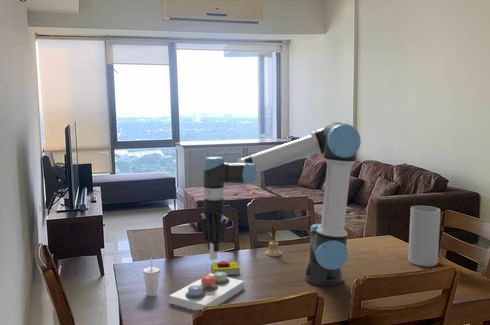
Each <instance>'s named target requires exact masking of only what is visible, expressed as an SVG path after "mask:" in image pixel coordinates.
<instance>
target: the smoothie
mask: <svg viewBox="0 0 490 325" xmlns="http://www.w3.org/2000/svg"><path fill="white" fill-rule="evenodd" d="M160 273H161V269H160V268H159V267H157V266H153V258H152V257H150V266H149V267H145V268H144V269H142V274H143V278H144V284H145V290H146V296H148V297H155V296H157V295H158V287H159V280H160V278H159V277H160Z"/></svg>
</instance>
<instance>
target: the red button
mask: <svg viewBox="0 0 490 325" xmlns="http://www.w3.org/2000/svg"><path fill="white" fill-rule="evenodd" d="M200 279H201V284H202V285H204V286H212V285H214V284H215V277H214V276H212V275H209V274H207V275H203V276H201V277H200Z"/></svg>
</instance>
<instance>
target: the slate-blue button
mask: <svg viewBox="0 0 490 325" xmlns="http://www.w3.org/2000/svg"><path fill="white" fill-rule="evenodd" d="M202 294H203V287H202V286H199V285H193V286H190V287H188V295H189V296H192V297H198V296H201V295H202Z"/></svg>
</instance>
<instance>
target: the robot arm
mask: <svg viewBox="0 0 490 325" xmlns="http://www.w3.org/2000/svg"><path fill="white" fill-rule="evenodd" d="M310 133H311V134H310V135H306V136H303V137H301V138H298V139H295V140H292V141H289V142H286V143H283V144H281V145H277V146H274V147H271V148H269V149H266V150H262V151H259V152H256V153H253V154H250V155H248V156H245V157H238V158H236V159H235V160H234V161H233V162H226V161H225V159H224V157H221V156H207V157H206V158H204V163H203V209H204V210H203V213H201V214H198V215H197V216H198V219H199V221H200V225H201V231H202V232H201V233H202V236H203V240H204V241H206V242H208V243H207V245H208V246H207V248H208V251H209V260H210V261H215V260H217V259H218V251H219V249H220V248H219V245H220V243H222V242H223V241H224V240H225V239H224V238H225V233H226V230H227V224H228V222H230V218H229V217H226V216H225V214H224V207H225V205H224V204H225V203H224V201H225V199H224V197H225V186H224V184H225V183H227V184H246V185H247V184H254V183H256V180H257V177H256V176H257V173H260V172H264V171H267V170H269V169H272V168H275V167H279V166H281V165H285V164H287V163H291V162H294V161H297V160H301V159H304V158H306V157H310V156H312V155H316V154H317V155H323V160H324V161H325V162H326V174H325V183H324V193H323V201H322V202H323V203H322V213H321V223H314V224H312V225H310V231H309V234H310V235H309V261H308V264H307V266H306V270H305V272H304V279H305V281H306V282H307V283H310V284H312V285H315V286H321V287H332V286H337V285H340V284H341V283H342V282H343V273H342V270H341V268H342V267H344V266H345V264H346V263H347V261H348V259H349V251H348V247H347V242H348V232H347V231H346V229H345V223H346V222H345V221H346V214H347V205H348V195H349V188H350V187H349V184H350V176H351V168H352V166H353V164H355V163H356V159H357V152H358V150H359V149H360V147H361V142H362V141H361V135H360V133H359V131H358V130H357V128H355V127H354V126H353V125H351V124H349V123H345V122H333V123H329V124H328V125H325V126H323V127H321V128H319V129H316V130H314V131H312V132H310Z"/></svg>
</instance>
